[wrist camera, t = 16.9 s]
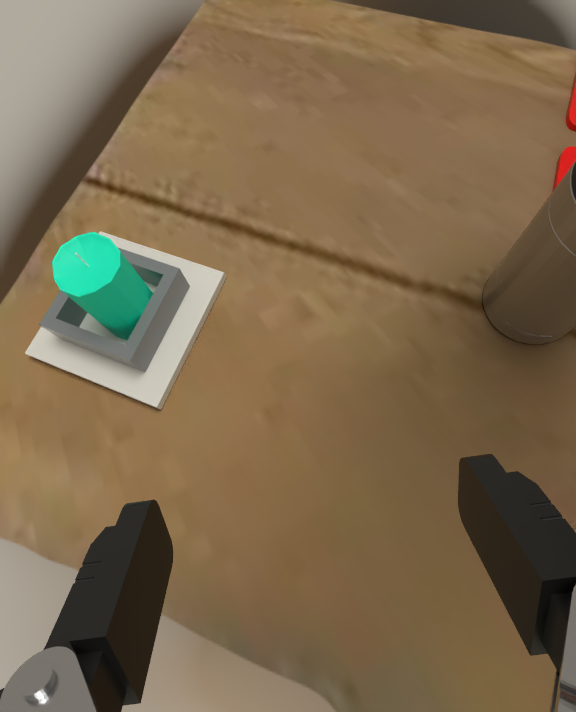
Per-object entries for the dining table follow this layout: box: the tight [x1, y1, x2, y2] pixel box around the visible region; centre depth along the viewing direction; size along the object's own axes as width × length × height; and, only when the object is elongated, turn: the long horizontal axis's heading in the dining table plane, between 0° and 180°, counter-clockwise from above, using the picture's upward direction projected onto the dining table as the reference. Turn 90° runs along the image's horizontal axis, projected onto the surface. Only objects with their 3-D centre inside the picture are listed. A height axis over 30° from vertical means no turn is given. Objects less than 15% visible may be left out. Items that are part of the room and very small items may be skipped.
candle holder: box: [25, 231, 226, 410], centre depth 46 cm, size 16×16×5 cm
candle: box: [52, 232, 153, 341], centre depth 41 cm, size 6×6×12 cm
